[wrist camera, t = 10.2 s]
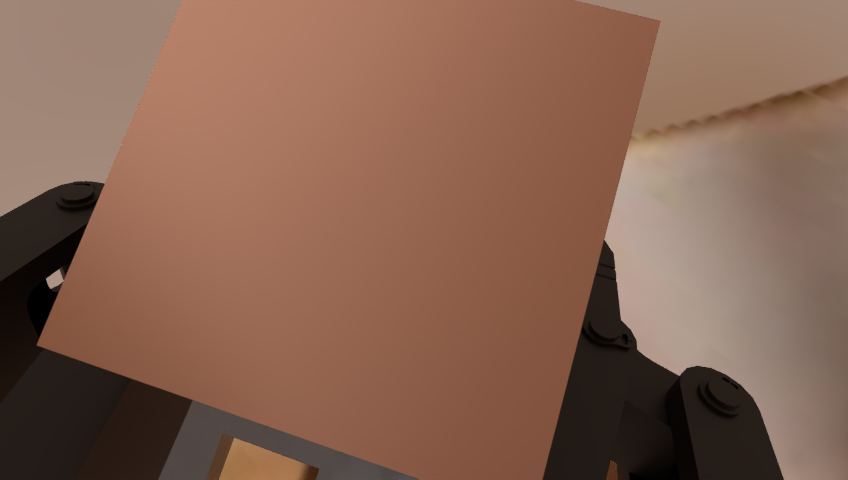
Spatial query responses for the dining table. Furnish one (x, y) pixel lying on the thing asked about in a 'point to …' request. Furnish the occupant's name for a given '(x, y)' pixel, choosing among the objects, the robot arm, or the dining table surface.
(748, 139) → the dining table surface
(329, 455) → the socket block
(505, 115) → the peg
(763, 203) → the dining table surface
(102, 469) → the robot arm
